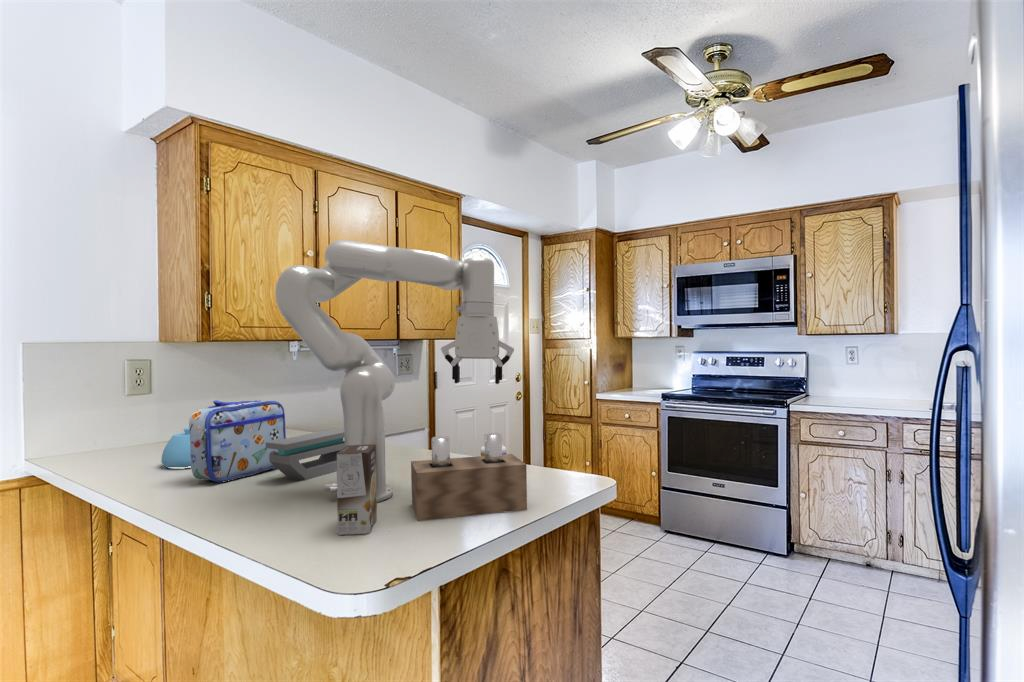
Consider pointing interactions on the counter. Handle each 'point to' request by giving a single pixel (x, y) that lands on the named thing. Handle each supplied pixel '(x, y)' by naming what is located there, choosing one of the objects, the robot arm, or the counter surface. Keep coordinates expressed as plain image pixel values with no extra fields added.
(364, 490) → the coffee box
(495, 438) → the peg right
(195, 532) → the counter surface
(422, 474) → the walnut block
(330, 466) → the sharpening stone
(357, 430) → the robot arm
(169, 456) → the sugar bowl
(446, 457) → the grey rounded cylinder
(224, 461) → the lunch box
